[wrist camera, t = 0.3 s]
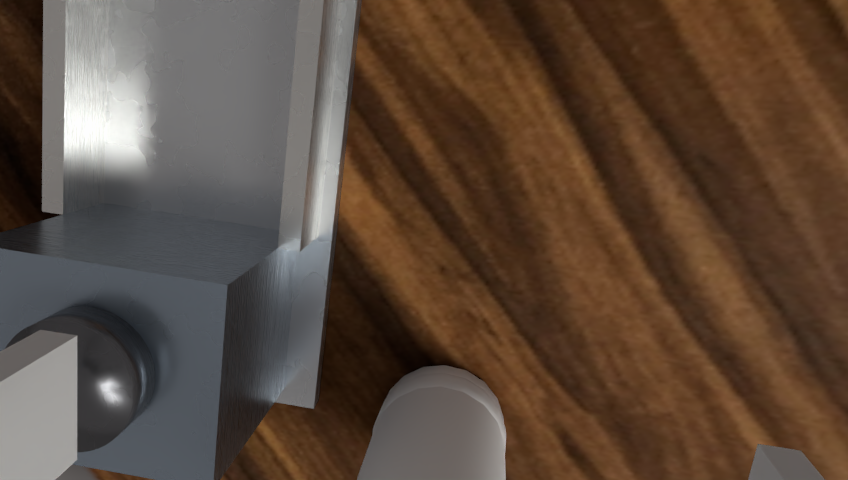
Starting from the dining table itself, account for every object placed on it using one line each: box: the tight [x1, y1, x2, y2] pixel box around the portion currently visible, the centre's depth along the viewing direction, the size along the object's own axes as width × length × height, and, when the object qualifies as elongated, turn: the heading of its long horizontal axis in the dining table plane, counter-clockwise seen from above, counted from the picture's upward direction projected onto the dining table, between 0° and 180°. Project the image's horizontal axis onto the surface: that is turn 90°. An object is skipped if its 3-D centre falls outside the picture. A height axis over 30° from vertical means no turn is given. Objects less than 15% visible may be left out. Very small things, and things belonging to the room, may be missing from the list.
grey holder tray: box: [0, 0, 362, 480], centre depth 34 cm, size 26×16×14 cm, turn 172°
